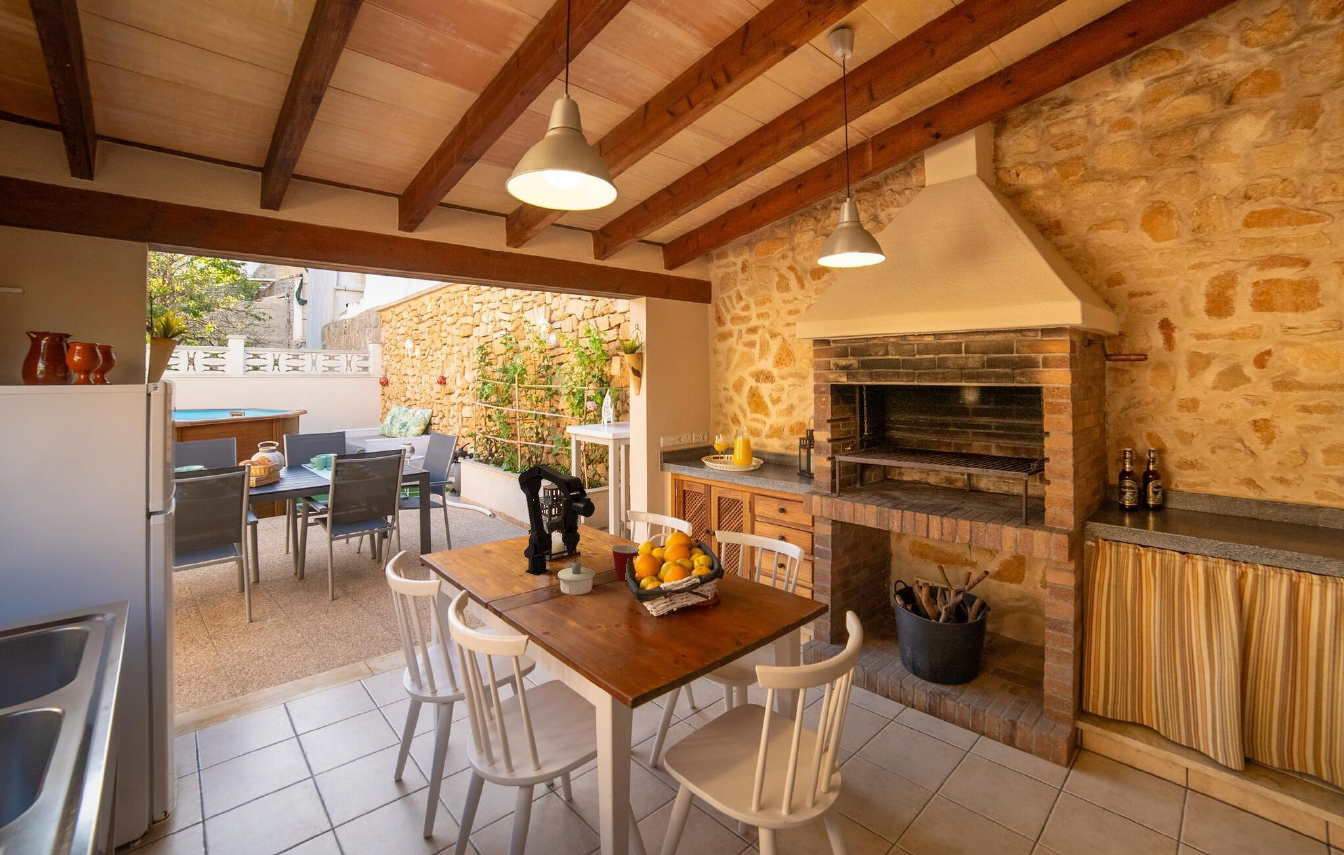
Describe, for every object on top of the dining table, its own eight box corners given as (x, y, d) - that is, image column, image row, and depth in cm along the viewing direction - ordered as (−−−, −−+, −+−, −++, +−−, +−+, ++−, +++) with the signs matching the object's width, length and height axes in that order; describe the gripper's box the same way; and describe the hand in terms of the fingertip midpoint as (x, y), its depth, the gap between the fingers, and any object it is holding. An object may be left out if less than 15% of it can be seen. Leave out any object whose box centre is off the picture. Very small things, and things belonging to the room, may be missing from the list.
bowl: (554, 590, 212) (554, 576, 211) (574, 582, 221) (574, 568, 221) (578, 597, 206) (578, 583, 206) (597, 588, 215) (598, 574, 215)
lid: (550, 577, 211) (550, 564, 211) (574, 567, 222) (574, 555, 222) (578, 584, 204) (578, 571, 204) (601, 574, 215) (602, 562, 215)
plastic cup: (644, 579, 227) (645, 548, 226) (621, 585, 219) (622, 553, 218) (627, 571, 235) (628, 541, 234) (604, 577, 227) (605, 546, 226)
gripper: (547, 505, 224) (545, 546, 225) (548, 518, 206) (547, 562, 207) (576, 505, 226) (575, 545, 228) (580, 518, 208) (579, 561, 210)
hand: (568, 553), depth 218 cm, fingers open, 9 cm apart
